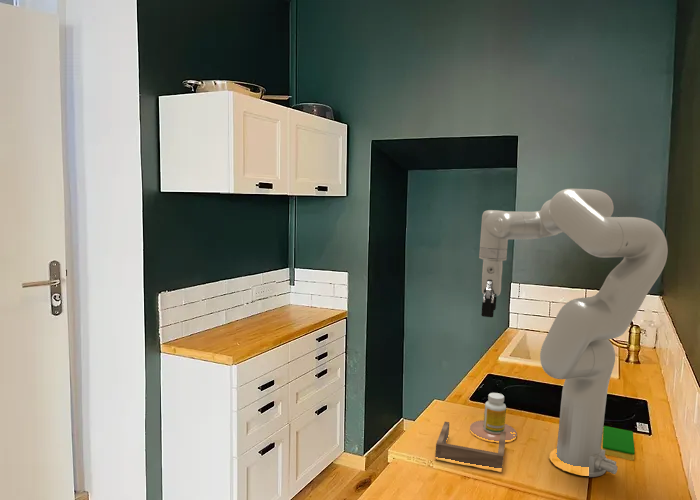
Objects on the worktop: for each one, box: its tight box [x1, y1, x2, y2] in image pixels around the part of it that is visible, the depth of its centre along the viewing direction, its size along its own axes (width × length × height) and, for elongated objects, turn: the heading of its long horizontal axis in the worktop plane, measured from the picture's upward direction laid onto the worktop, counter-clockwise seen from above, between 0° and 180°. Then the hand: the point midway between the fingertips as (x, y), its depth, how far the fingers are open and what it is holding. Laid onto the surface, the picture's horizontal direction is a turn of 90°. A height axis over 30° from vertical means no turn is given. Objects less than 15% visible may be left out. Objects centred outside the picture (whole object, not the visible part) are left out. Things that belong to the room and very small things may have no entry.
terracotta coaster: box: [469, 419, 518, 441], centre depth 148 cm, size 12×12×1 cm
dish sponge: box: [601, 425, 636, 461], centre depth 143 cm, size 7×14×2 cm, turn 155°
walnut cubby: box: [434, 421, 506, 469], centre depth 136 cm, size 13×15×4 cm
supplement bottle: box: [483, 392, 507, 434], centre depth 147 cm, size 5×5×10 cm
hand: (488, 312), depth 161 cm, fingers open, 9 cm apart
